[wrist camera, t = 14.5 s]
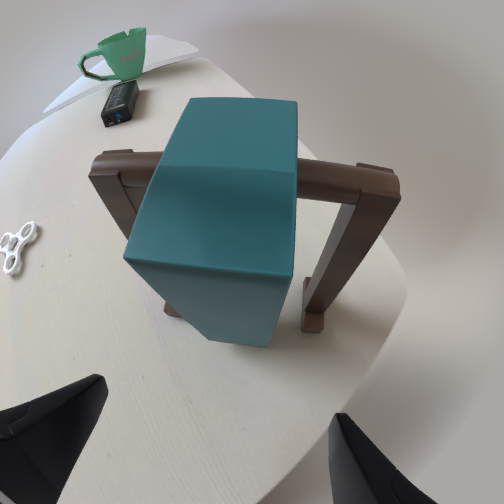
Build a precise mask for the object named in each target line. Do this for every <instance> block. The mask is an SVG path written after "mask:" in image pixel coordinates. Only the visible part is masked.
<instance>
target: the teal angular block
mask: <svg viewBox="0 0 504 504" xmlns="http://www.w3.org/2000/svg"><path fill="white" fill-rule="evenodd" d="M297 126H298V111H297V102H296V101H286V100H275V99H260V98H234V97H206V98H191V99H190V100H189V102H188V104H187V106H186V108H185V109H184V111H183V113H182V115H181V117H180V119H179V121H178V123H177V125H176V127H175V129H174V131H173V133H172V135H171V137H170V139H169V141H168V144H167V146H166V148H165V150H164V152H163V154H162V157H161V159H160V161H159V163H158V166H157V167H156V169H155V172H154V174H153V176H152V179H151V181H150V183H149V186H148V188H147V191H146V193H145V196H144V198H143V201H142V204H141V206H140V209H139V212H138V214H137V217H136V220H135V222H134V225H133V228H132V231H131V234H130V237H129V240H128V243H127V246H126V249H125V252H124V255H123V258H124V259H125V261H126V262H127V263H128V264H129V265H130V266H131V267H132V268H133V269H134V270H135V271H136V272H137V273H138V274H139V275H140V276H141V277H142V278H143V279H144V280H145V281H146V282H147V283H148V284H149V285H150V286H151V287H152V288H153V289H154V290H155V291H156V292H157V293H158V294H159V295H160V296H161V297H162V298H163V299H164V300H165V301H166V302H167V303H168V304H169V305H170V306H171V307H172V308H174V309H175V310H176V311H177V312H178V313H179V314H180V315H181V316H182V317H183V318H184V319H185V320H187V321H188V322H189V323H190V324H191V325H192V326H193V327H194V328H195V329H197V330H198V331H199V332H200V333H201V334H202V335H203V336H205V337H206V338H207V339H208V340H211V341H218V342H225V343H233V344H241V345H250V346H259V347H268V345H269V343H270V340H271V337H272V335H273V332H274V329H275V326H276V324H277V321H278V318H279V315H280V312H281V309H282V307H283V304H284V301H285V298H286V295H287V292H288V289H289V286H290V283H291V280H292V277H293V269H294V251H295V230H296V203H297V149H298V136H297V135H298V127H297Z"/></svg>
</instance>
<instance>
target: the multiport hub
mask: <svg viewBox="0 0 504 504" xmlns="http://www.w3.org/2000/svg"><path fill="white" fill-rule="evenodd" d="M138 92H139V89H138V85H137V81H136V80H133V81H129V82H126V83H123V84H119V85H116V86H114V87H113V88H112V90H111V92H110V95H109V97H108V99H107V101H106V103H105V106H104V108H103V110H102V113H101V118H102V120H103V123H104V125H105V127H108V126H112V125H115V124H118V123H121V122H125V121H128V120H130V119H132V115H133V111H134V107H135V103H136V100H137V96H138Z"/></svg>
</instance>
